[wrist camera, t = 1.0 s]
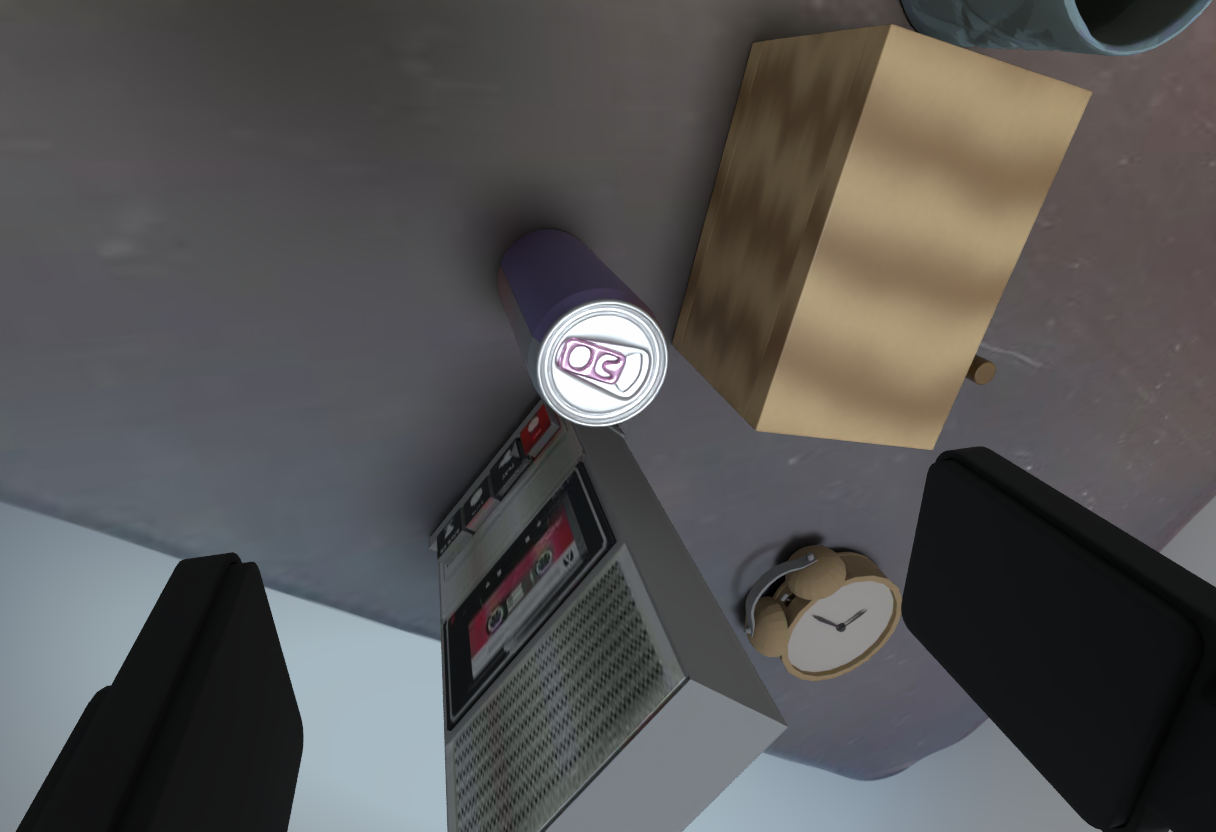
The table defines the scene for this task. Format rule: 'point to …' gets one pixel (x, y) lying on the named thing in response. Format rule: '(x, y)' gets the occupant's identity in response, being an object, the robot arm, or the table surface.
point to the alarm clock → (823, 612)
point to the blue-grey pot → (1055, 23)
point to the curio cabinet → (867, 229)
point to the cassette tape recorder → (584, 648)
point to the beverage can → (581, 330)
